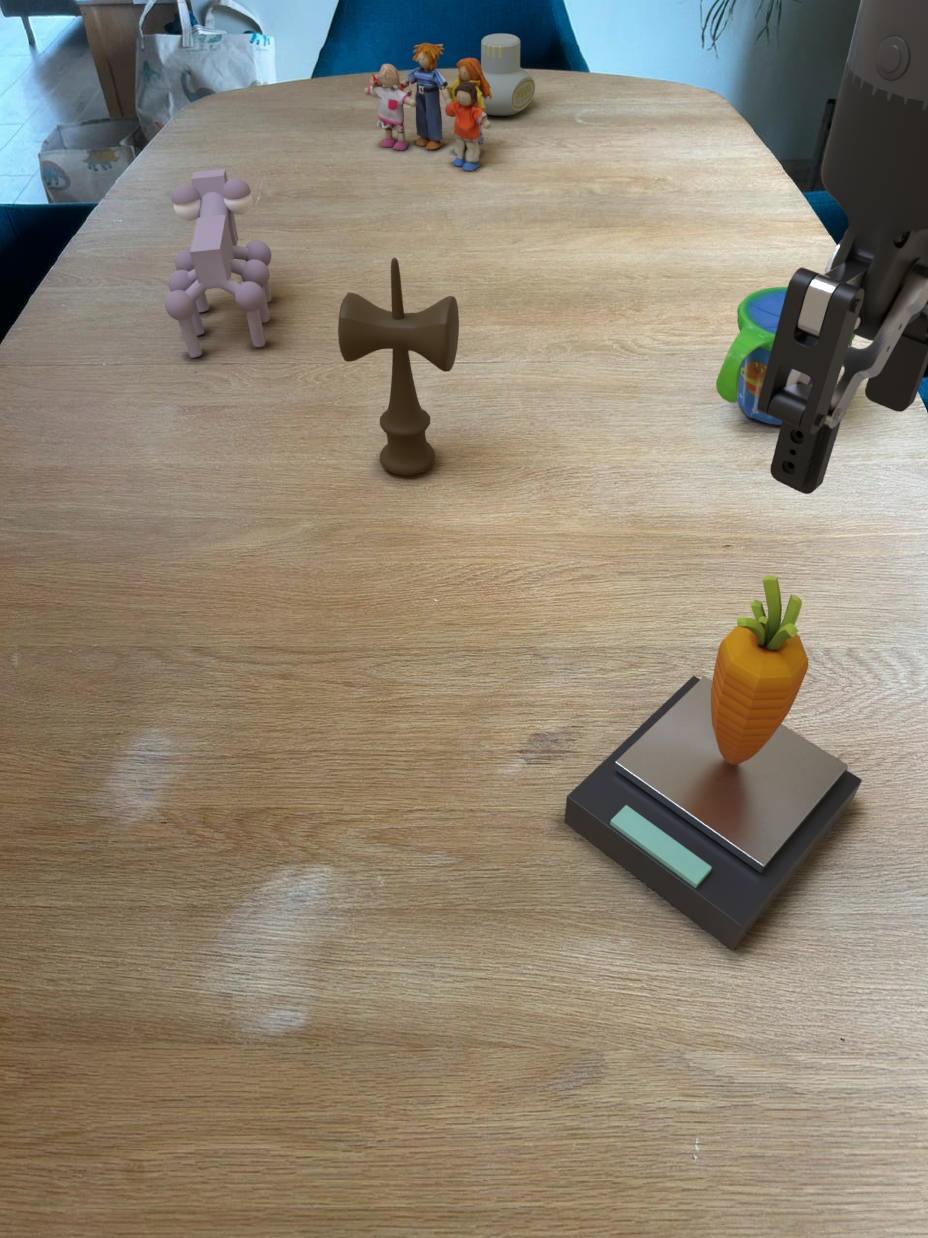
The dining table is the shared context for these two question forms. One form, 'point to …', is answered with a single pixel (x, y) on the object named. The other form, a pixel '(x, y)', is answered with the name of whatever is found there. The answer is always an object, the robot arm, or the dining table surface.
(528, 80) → the air freshener
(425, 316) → the kendama
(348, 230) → the dining table surface
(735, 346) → the snack cup
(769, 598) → the carrot
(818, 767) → the scale pan
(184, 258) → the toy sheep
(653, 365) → the dining table surface
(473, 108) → the doll family
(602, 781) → the scale
